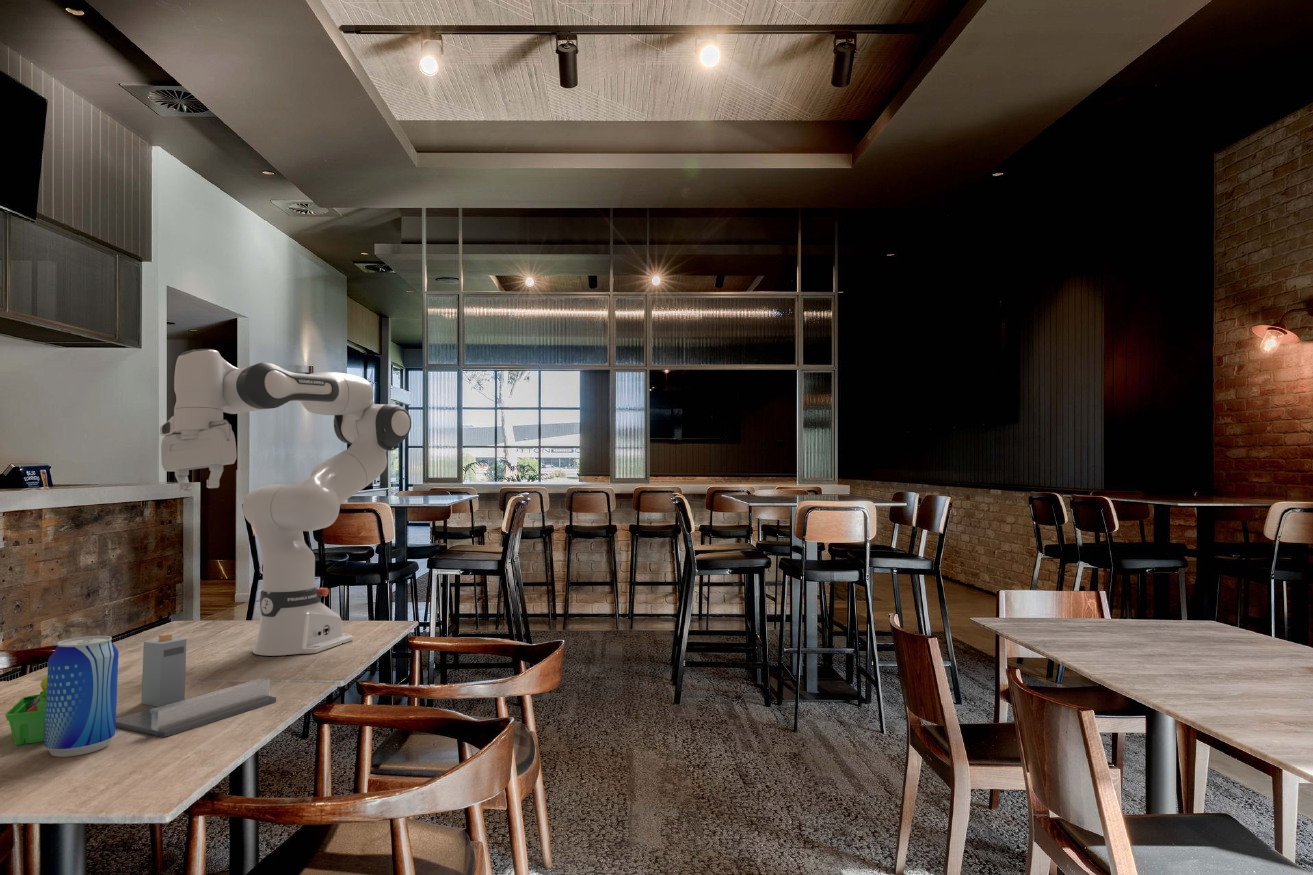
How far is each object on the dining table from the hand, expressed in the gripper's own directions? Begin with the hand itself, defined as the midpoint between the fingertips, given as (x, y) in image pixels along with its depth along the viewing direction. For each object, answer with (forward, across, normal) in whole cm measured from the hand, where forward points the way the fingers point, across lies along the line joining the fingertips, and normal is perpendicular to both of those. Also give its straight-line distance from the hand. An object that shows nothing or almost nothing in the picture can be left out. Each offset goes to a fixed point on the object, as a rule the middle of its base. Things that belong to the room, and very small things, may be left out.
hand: (198, 489), depth 154 cm
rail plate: (+40, -23, +14) cm, 48 cm away
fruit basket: (+40, -12, +31) cm, 52 cm away
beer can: (+41, -24, +32) cm, 57 cm away
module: (+39, -11, +13) cm, 43 cm away
